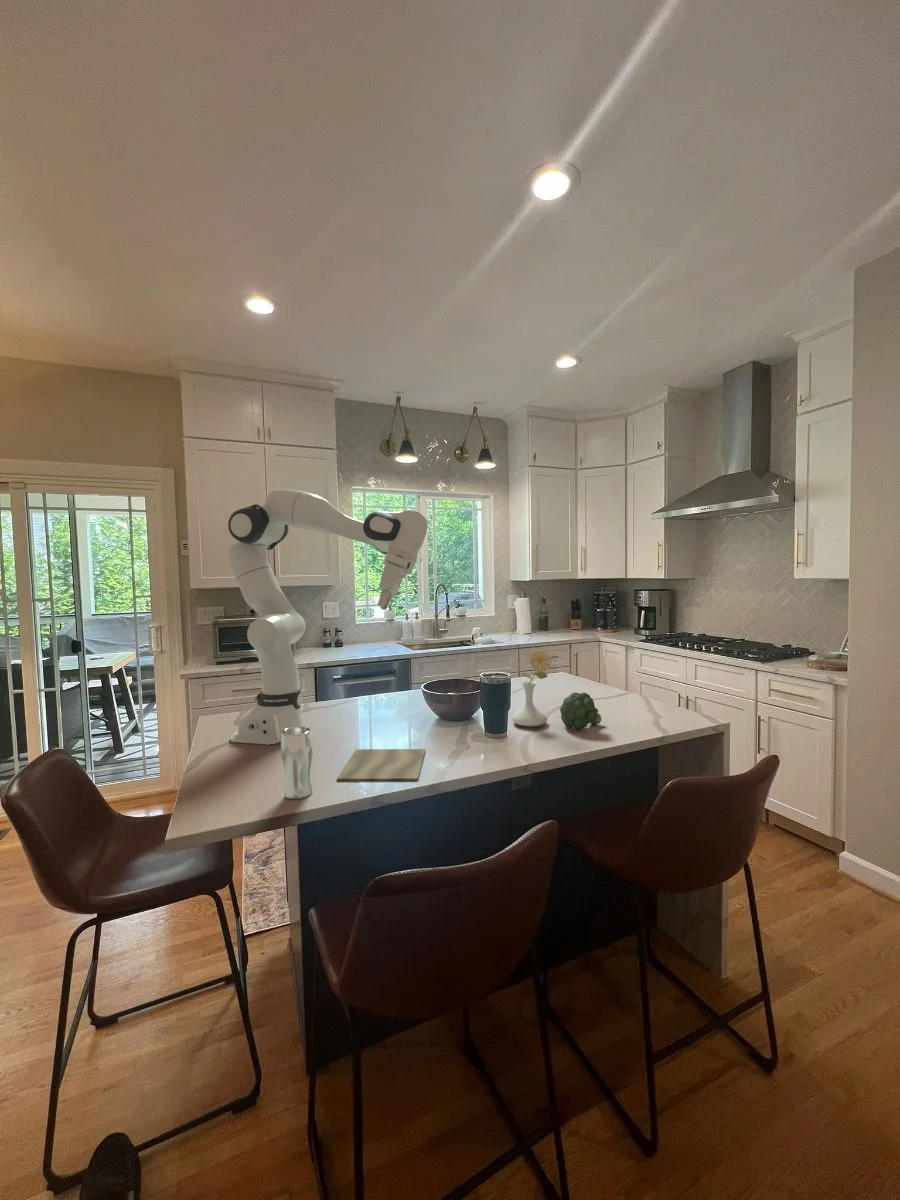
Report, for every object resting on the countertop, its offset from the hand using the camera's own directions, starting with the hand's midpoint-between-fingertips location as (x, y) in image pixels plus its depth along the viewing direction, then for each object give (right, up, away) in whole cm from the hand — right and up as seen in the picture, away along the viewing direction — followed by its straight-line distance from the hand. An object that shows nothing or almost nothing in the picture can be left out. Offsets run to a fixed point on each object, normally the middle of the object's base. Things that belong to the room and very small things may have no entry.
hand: (381, 607), depth 143 cm
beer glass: (-15, -43, -28) cm, 54 cm away
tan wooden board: (+2, -41, -12) cm, 43 cm away
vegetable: (+62, -39, +16) cm, 75 cm away
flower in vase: (+47, -39, +20) cm, 64 cm away
